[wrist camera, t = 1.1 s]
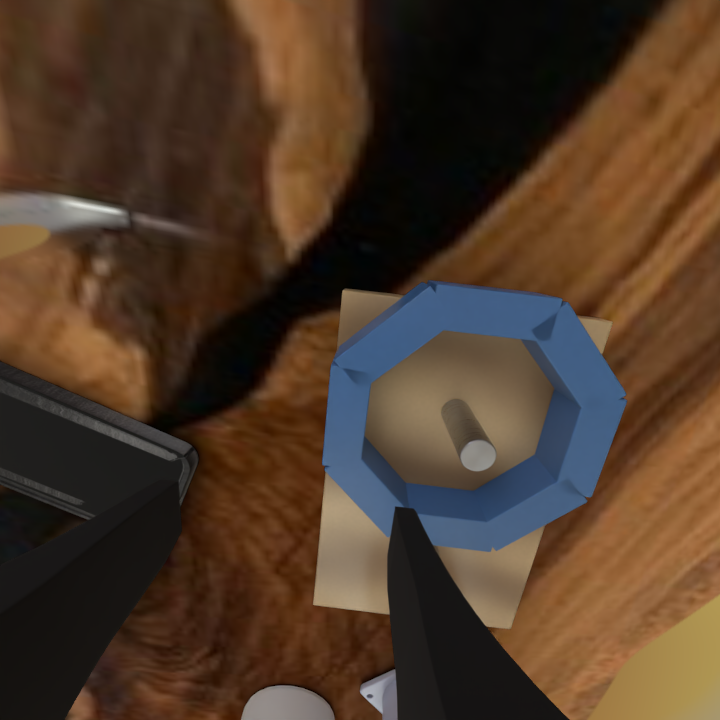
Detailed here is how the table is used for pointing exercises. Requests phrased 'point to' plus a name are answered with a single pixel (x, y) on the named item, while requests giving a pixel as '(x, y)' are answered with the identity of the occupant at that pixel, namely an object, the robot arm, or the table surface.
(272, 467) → the table surface
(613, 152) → the table surface
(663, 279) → the table surface
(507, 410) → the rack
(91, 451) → the phone
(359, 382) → the ring
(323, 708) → the mug
